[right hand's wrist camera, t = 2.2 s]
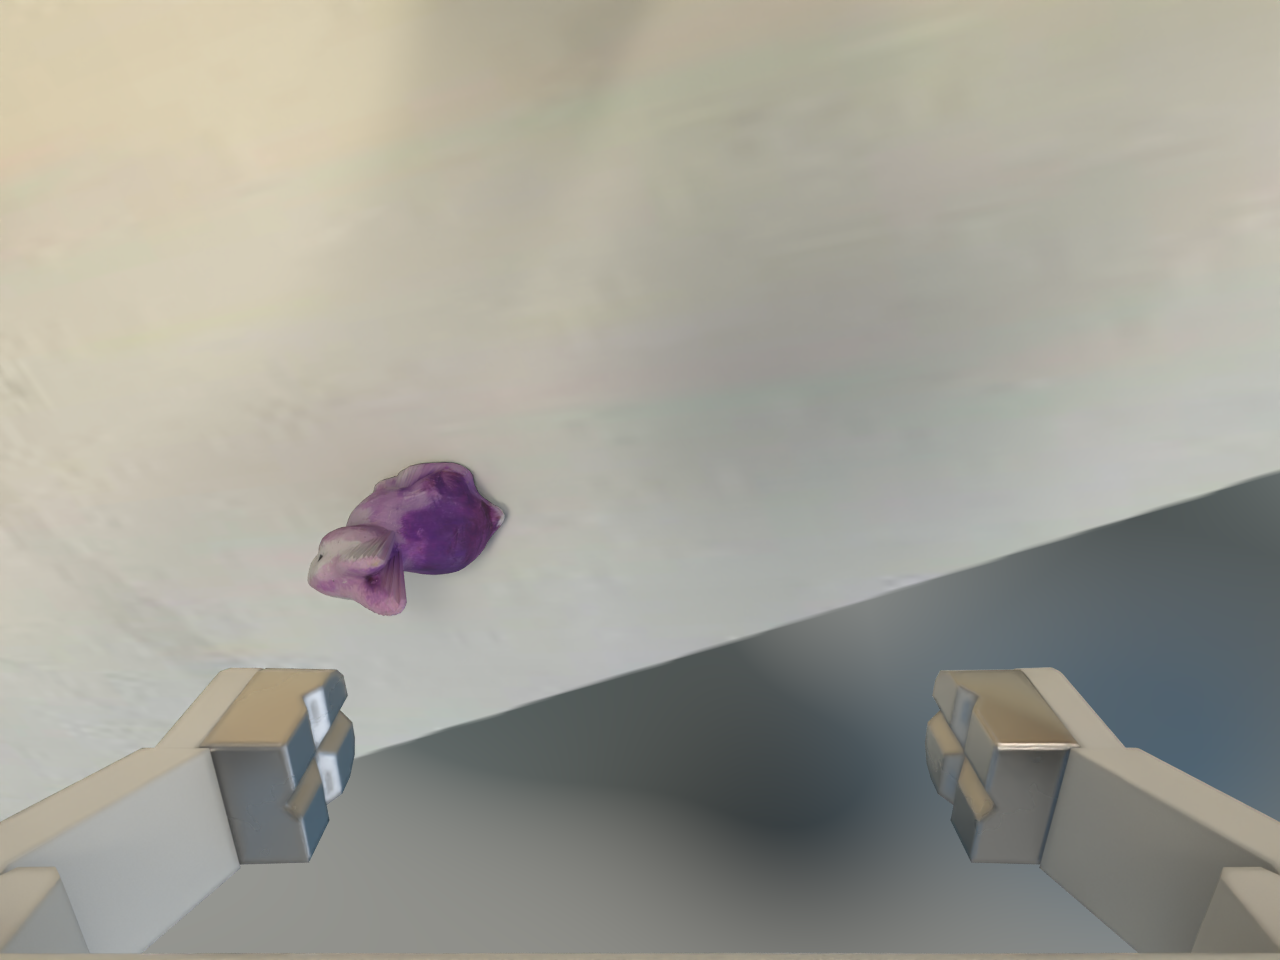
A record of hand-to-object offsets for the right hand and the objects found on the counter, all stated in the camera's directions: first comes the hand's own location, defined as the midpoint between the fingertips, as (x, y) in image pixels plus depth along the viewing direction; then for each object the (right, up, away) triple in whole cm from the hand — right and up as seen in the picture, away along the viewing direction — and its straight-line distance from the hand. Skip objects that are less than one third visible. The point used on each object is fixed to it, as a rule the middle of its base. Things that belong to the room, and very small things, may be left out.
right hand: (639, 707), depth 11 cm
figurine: (-17, +1, +51) cm, 54 cm away
